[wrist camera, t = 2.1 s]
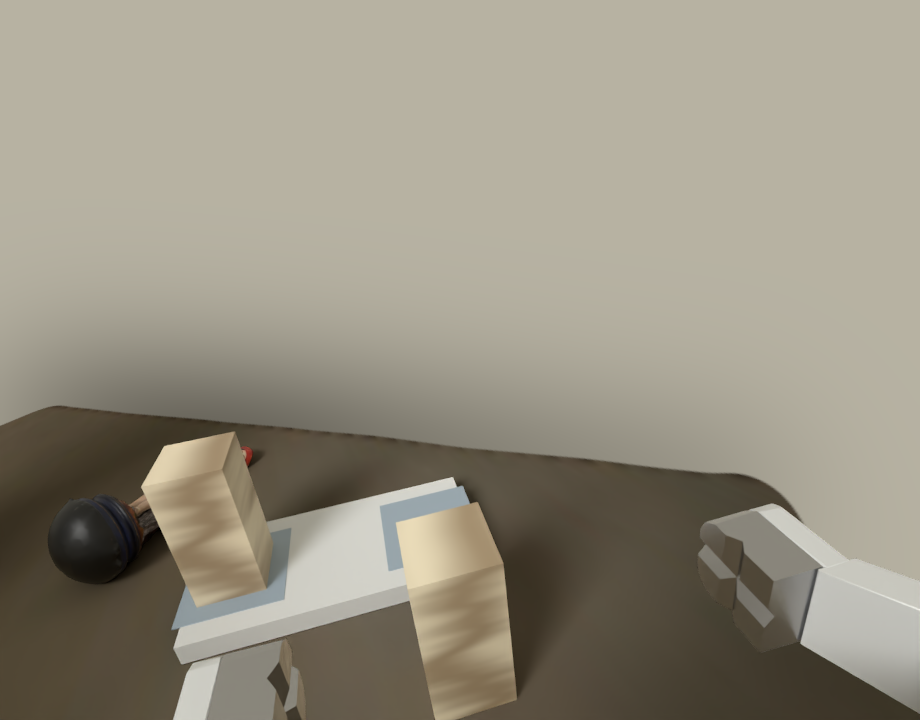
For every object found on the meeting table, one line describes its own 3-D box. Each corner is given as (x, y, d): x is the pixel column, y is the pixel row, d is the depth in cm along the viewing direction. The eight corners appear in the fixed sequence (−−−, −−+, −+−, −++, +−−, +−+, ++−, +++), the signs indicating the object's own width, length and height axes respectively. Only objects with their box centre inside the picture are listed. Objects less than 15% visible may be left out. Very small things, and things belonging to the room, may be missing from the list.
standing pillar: (196, 607, 33) (141, 486, 29) (211, 558, 37) (164, 446, 33) (266, 589, 34) (221, 469, 30) (273, 543, 38) (234, 431, 34)
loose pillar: (436, 726, 26) (407, 589, 22) (422, 649, 30) (395, 522, 26) (517, 699, 27) (503, 563, 23) (492, 628, 31) (477, 502, 27)
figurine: (16, 498, 36) (232, 407, 51) (35, 564, 39) (234, 460, 54) (71, 550, 33) (284, 437, 48) (87, 617, 36) (283, 492, 51)
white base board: (173, 667, 31) (164, 650, 30) (208, 551, 40) (202, 537, 39) (494, 576, 35) (492, 560, 34) (460, 489, 44) (458, 475, 43)
